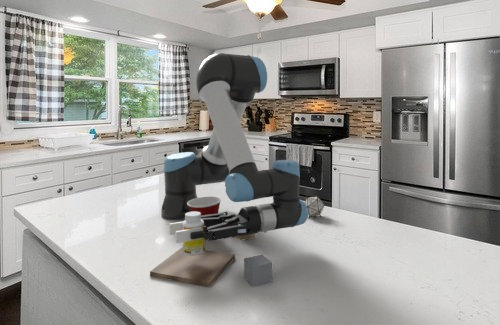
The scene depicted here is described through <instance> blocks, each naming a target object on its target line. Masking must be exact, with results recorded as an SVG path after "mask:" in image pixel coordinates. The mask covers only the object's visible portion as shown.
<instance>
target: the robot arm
mask: <svg viewBox="0 0 500 325" xmlns="http://www.w3.org/2000/svg"><path fill="white" fill-rule="evenodd" d="M195 80H196V81H195V85H196V90H197V94H198V97H199V99H200V100H201V101H203V102H204V103H205V105H206V106H205V107H206V110H207V112H208V114H209V117H210V120H211V124H212V126H213V128H212V133H211V136H210V138H209V142H208V145H205V146H204V147H203V148H202V152H201V154H199V155H196V153H195V152H192V151H185V152H183V151H182V152H177V153H173V154H170V155H168V156H165V158H164V161H163V162H164V163H163V172H164V192H165V194H164V198H163V201H162V206H161V212H160V213H161V217H163V218H164V217H165V219H168V220H183V221H184V220H185V214H186V213H188V212H191V210H190V208H189V206H188V205H187V202H188V201H190V200H192V199H195V198H199V197H198V195H197V186H201V185H209V184H211V185H212V184H217V183H218V184H219V183H223V182H225V183H224V186H225V194H226V196H227V198H228V199H229V200H230V201H231V202H234V203H239V202H240V203H241V202H242V203H243V202H250V201H255V200H260V199H265V198H270V197H271V198H272V202H271V203H262V204H255V205H249V206H244V207H241V208H240V210H239V212H238V214H235V213H229V214H228V211H222V212H218V213H217V214H210V215H202V216H201V219H202V220H203V221H204V226H203V228H202V227H199V228H193V229H186V230H182V223H183V221H177V222H169V234H170V235H175V242H176V244H179V243H183V242H186V241H191V240H197V239H202V238H204V239H205V240H208V242H214V241H219V240H223V239H229V238H236V236H244V235H250V234H255V235H256V234H258V233H264V234H265V233H267V232H269V231H275V230H279V229H287V228H294V227H298V226H300V225H303V224H305V223H306V222H307V221H308V219H309V215H308V210H307V206H306V204H305V201H304V200H302V199H300V178H301V175H300V174H301V173H300V170H301V169H300V164H299V162H298V161H296V160H292V159H291V160H290V159H278V160H275V161H273V164H272V168H270V169H262V170H258V169H259V168H258V167H257V164H256V162H255V158H254V157H253V154H252V151H251V148H250V145H249V143H248V140H247V137H246V135H245V133H244V130H243V127H242V124H241V122H242V119H243V115H244V113H245V110H246V108H247V105H248V104H250V103H252V102H253V100H254V98H255V95H256V94H259V93H262V92H263V91H264V90H265V89H266V87H267V83H268V71H267V67H266V65H265V63H264V61H263V59H261V58H260V57H258V56H253V55H249V54H247V55H245V54H244V55H243V54H242V55H241V54H233V53H232V54H231V53H225V52H216V53H213V54H211V55H209V56H208V57H207V58H205V59H204V60H203V61H202V63H201V64H200V65H199V66H198V70H197V73H196V78H195Z"/></svg>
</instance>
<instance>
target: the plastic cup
mask: <svg viewBox="0 0 500 325" xmlns="http://www.w3.org/2000/svg"><path fill="white" fill-rule="evenodd" d="M221 202H222V199H221V198H220V197H218V196H213V195H212V196H200V197H198V198H195V199H192V200H190V201H188V202H187V205H188V206H189V208H190V210H191V212H193V211H196V212H200V213H201V216H202V215H210V214H217V213H219V210H220V204H221Z"/></svg>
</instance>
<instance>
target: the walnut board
mask: <svg viewBox="0 0 500 325" xmlns="http://www.w3.org/2000/svg"><path fill="white" fill-rule="evenodd" d="M235 256H236V254H235V253H229V252H223V251H216V250H209V249H205V251H204V252H203V253H202V254H199V255H195V256H190V255H186V254H185V253H184V252H183V246H182V247H181V248H179V249H178V250H176V251H175V252H174V253H172V254H171V255H170V256H169V257H167V258H166V259H164V260H163V261H162V262H161V263H160V264H158V265H156V266H155V267H154V268H152V269H151V270H150V271H149V277H153V278H159V279H163V280H168V281H169V280H170V281H174V282H180V283H184V284H185V283H186V284H190V285H196V286H202V287H206V288H210V287H211V286H212V285H213V284H214V283H215V281H217V279H218V278H219V277H220V276H221V275H222V274H223V273H224V271H226V269H227V268H228V267H229V265H230V264H231V263H232V262H233V261H234V259H236V257H235Z"/></svg>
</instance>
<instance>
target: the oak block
mask: <svg viewBox="0 0 500 325" xmlns="http://www.w3.org/2000/svg"><path fill="white" fill-rule="evenodd" d="M255 235H256V233H255V234H250V235H244V236H235V238H236V239H238V240H239V241H244V240H249V239H255V237H256V236H255Z"/></svg>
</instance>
